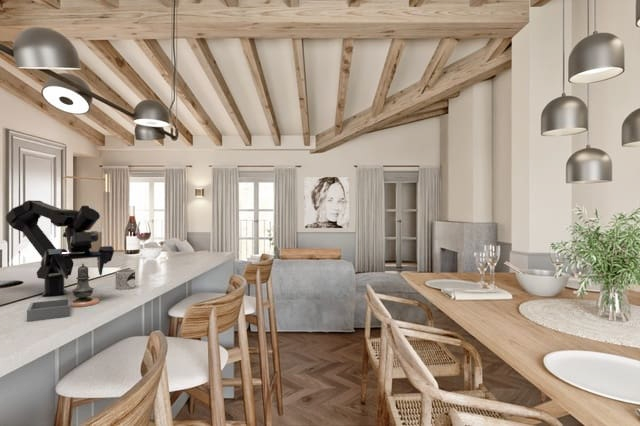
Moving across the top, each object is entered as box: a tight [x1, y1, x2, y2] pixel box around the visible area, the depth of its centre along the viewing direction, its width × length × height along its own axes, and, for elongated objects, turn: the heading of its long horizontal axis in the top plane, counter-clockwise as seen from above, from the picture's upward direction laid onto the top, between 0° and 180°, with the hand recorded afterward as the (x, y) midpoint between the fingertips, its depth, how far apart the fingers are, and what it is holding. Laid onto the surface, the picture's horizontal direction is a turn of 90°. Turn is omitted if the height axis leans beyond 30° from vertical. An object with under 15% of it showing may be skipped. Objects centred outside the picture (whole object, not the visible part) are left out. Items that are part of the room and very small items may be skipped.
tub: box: [26, 298, 72, 323], centre depth 104 cm, size 10×10×3 cm
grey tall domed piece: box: [71, 263, 94, 303], centre depth 116 cm, size 6×6×12 cm
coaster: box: [71, 296, 100, 308], centre depth 116 cm, size 8×8×1 cm
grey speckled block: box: [115, 269, 136, 291], centre depth 141 cm, size 10×7×7 cm, turn 5°
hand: (84, 276), depth 115 cm, fingers open, 9 cm apart
